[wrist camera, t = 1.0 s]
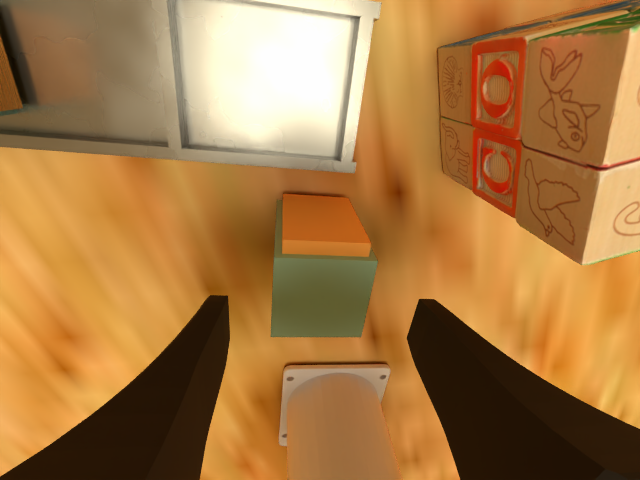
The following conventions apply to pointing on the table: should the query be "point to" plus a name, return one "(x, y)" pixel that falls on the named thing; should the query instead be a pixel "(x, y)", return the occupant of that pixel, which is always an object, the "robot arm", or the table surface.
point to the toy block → (320, 268)
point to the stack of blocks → (551, 126)
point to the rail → (187, 79)
